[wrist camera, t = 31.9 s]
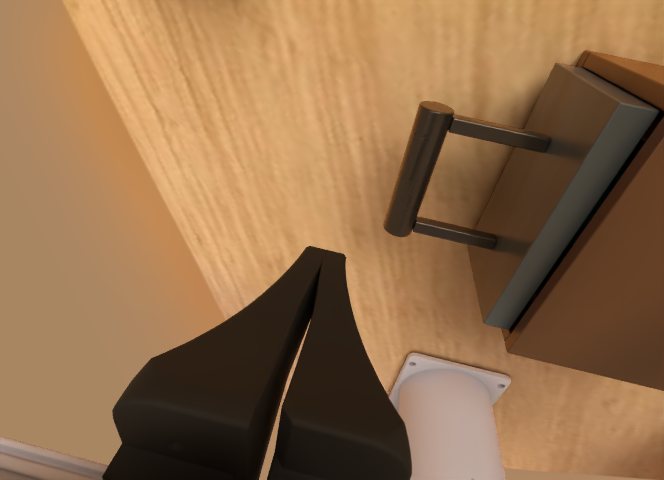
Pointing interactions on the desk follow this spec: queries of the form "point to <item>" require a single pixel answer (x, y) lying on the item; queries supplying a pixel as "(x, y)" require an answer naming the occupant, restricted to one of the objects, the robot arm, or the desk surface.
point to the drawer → (527, 182)
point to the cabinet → (610, 264)
